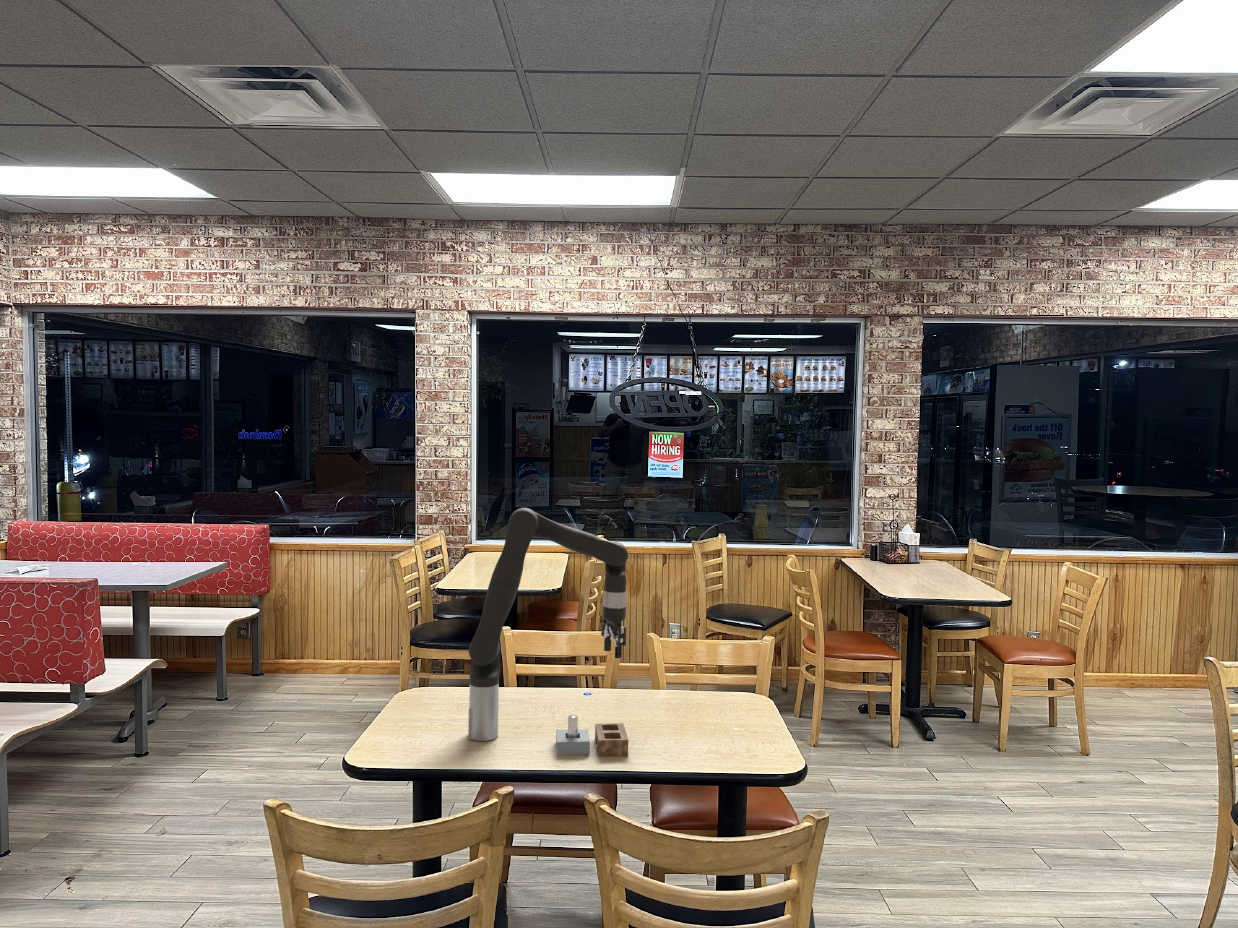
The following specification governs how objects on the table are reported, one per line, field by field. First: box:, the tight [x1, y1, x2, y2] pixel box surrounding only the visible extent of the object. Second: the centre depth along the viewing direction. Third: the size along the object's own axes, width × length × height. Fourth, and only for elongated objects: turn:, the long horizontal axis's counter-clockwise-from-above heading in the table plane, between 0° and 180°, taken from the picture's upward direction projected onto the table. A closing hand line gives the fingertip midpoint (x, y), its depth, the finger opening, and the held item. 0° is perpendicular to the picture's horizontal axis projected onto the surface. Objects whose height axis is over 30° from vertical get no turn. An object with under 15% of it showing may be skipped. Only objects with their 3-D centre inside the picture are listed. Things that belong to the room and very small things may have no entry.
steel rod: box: [567, 714, 579, 738], centre depth 243 cm, size 3×3×10 cm
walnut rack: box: [594, 722, 629, 758], centre depth 244 cm, size 9×14×5 cm, turn 6°
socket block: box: [555, 728, 591, 756], centre depth 243 cm, size 10×10×4 cm
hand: (612, 654), depth 254 cm, fingers open, 8 cm apart
